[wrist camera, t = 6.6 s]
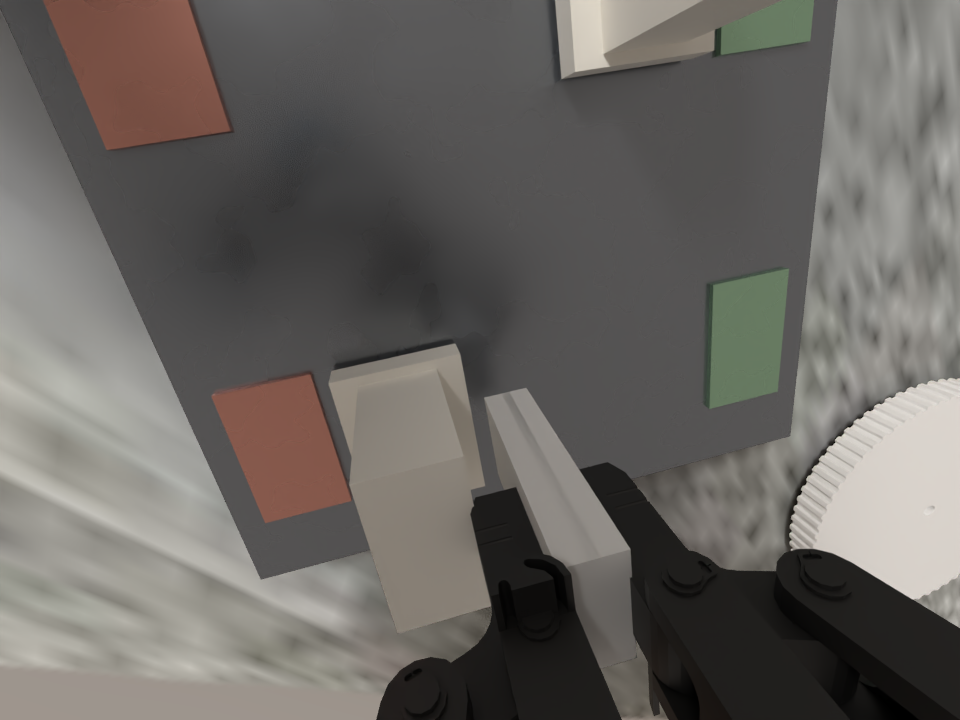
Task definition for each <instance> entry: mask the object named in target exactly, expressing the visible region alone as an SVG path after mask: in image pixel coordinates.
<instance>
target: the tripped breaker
mask: <svg viewBox="0 0 960 720" xmlns="http://www.w3.org/2000/svg"><path fill="white" fill-rule="evenodd" d="M328 384H329V387H330V390H331V393H332V397H333V400H334V403H335V406H336V409H337V412H338V416H339V419H340V422H341V425H342V428H343V432H344V435H345V438H346V441H347V444H348V447H349V451H350V454H351V457H352V460H351V471H350V482H349V486H350V489H351V492H352V495H353V498H354V501H355V504H356V507H357V511H358V514H359V517H360V520H361V523H362V526H363V529H364V532H365V535H366V538H367V541H368V544H369V547H370V551H371V554H372V557H373V560H374V563H375V566H376V569H377V572H378V575H379V578H380V581H381V584H382V587H383V590H384V594H385V597H386V600H387V603H388V606H389V609H390V612H391V615H392V618H393V621H394V624H395V627H396V630H397V634H399V633H402V632H406V631H409V630H413V629H416V628H419V627H423V626H426V625H429V624H433V623H436V622H440V621H443V620H446V619H450V618H453V617H457V616H460V615H463V614H467V613H470V612H474V611H477V610H480V609H484V608H487V607H490V606H491V603H490V598H489V594H488V590H487V586H486V582H485V577H484V573H483V569H482V565H481V561H480V556H479V551H478V547H477V542H476V538H475V533H474V529H473V524H472V520H471V515H470V513H471V510H472V507H473V506H474V504H473V499H472V494H471V490H472V489H476V488H480V487H483V486H485V482H484V477H483V472H482V466H481V461H480V456H479V451H478V445H477V440H476V435H475V429H474V424H473V419H472V414H471V408H470V403H469V398H468V393H467V387H466V382H465V377H464V371H463V366H462V361H461V356H460V352H459V350H458V348H457V346H456V344H450V345H446V346H441V347H437V348H432V349H428V350H423V351H419V352H414V353H410V354H405V355H401V356H396V357H392V358H387V359H383V360H378V361H374V362H369V363H365V364H360V365H356V366H351V367H347V368H342V369H338V370H333V371H331V375H330V379H329V383H328Z"/></svg>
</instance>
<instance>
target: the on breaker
mask: <svg viewBox="0 0 960 720" xmlns="http://www.w3.org/2000/svg"><path fill="white" fill-rule="evenodd" d="M780 1H782V0H555V5H556V17H557V29H558V42H559V54H560V67H561V79H566V78H572V77H578V76H585V75H591V74H598V73H604V72H611V71H617V70H624V69H630V68H637V67H643V66H649V65H656V64H662V63H669V62H675V61H682V60H688V59H693V58H696V57H698V56H701V55H704V54H706V53H709V52H712V51H714V37H715V29H718V28H720V27H722V26H725V25H727V24H729V23H731V22H734V21H736V20H738V19H741V18H743V17H745V16H748V15H750V14H752V13H754V12H757V11H759V10H761V9H764V8H766V7H768V6H770V5H773V4H775V3H777V2H780Z"/></svg>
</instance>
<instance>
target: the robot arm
mask: <svg viewBox="0 0 960 720" xmlns="http://www.w3.org/2000/svg"><path fill="white" fill-rule="evenodd" d="M484 400H485V405H486V411H487V416H488V421H489V427H490V432H491V438H492V443H493V448H494V454H495V459H496V465H497V470H498V475H499V478H500V480H501V483H502V486H503V488H504V490H502V491H498V492H494V493H491V494H487V495H483V496H479V497H475V500H474V503H473V504H474V506H473V507H472V510H471V513H470V515H471V520H472V524H473V529H474V533H475V538H476V542H477V547H478V551H479V556H480V561H481V565H482V569H483V573H484V577H485V582H486V586H487V590H488V594H489V598H490V603H491V607H492V617H491V623H490V625H489V627H488V629H487V632H486V634H485V635H484V636H483V638H482V639H481V640H480V641H479V643H478V644H477V645H475V646H474V647H473V648H472V649H471V650H469V651H468V652H467V653H465V654H464V655H462V656H461V657H459V658H458V659H456V660H455V661H453V662H452V663H450V662H449V661H447V660H445V659H439V658H433V657H430V658H426V659H421V660H417V661H414V662H413V663H411V664H410V665H408V666H406V667H405V668H403V669H402V670H400V671H399V672H398V674H397V675H396V676H395V677H394V678H393V680H392V681H391V682H390V683H389V684H388V686H387V688H386V691H385V693H384V696H383V698H382V700H381V703H380V707H379V711H378V715H377V719H376V720H622V719H621V717H620V715H619V712H618V710H617V707H616V705H615V703H614V700H613V698H612V695H611V693H610V691H609V688H608V686H607V684H606V681H605V679H604V676H603V674H602V672H601V669H602V668H605V667H609V666H612V665H615V664H618V663H622V662H625V661H628V660H631V659H635V658H637V653H636V640H637V642H638V644H639V646H640V648H641V650H642V652H643V653H644V655H645V657H646V659H647V661H648V674H649V696H650V705H651V708H652V711H653V715H654V716H655V715H659V714H660V710H659V702H660V704H661V706H662V708H663V710H664V711H665V713H666V715H667V717H668V719H669V720H960V628H958V627H957V626H955V625H954V624H952V623H950V622H949V621H947V620H945V619H944V618H942V617H940V616H939V615H937V614H935V613H934V612H932V611H931V610H929V609H927V608H926V607H924V606H922V605H921V604H919V603H917V602H916V601H914V600H913V599H911V598H909V597H908V596H906V595H904V594H903V593H901V592H899V591H898V590H896V589H894V588H893V587H891V586H890V585H888V584H886V583H885V582H883V581H881V580H880V579H878V578H876V577H875V576H873V575H871V574H870V573H868V572H867V571H865V570H863V569H862V568H860V567H858V566H857V565H855V564H853V563H852V562H850V561H848V560H846V559H844V558H842V557H839V556H837V555H835V554H833V553H829V552H825V551H821V550H817V549H796V550H793V551H790V552H787V553H784V554H783V556H782V557H781V558H780V559H779V560H778V561H777V568H776V571H736V570H726V569H723V568H720V567H719V566H717V565H716V564H715V563H714V562H713V561H712V560H710V559H709V558H708V557H705V556H703V555H701V554H699V553H697V552H694V551H689V550H688V549H687V548H686V547H685V546H684V545H683V544H682V543H681V541H680V540H679V539H678V538H677V536H676V535H675V534H674V533H673V531H672V530H671V529H670V528H669V526H668V525H667V524H666V522H665V521H664V520H663V519H662V517H661V516H660V515H659V514H658V512H657V511H656V510H655V509H654V507H653V506H652V505H651V504H650V502H647V499H646V497H645V496H644V495H643V494H642V492H641V491H640V490H638V489H637V486H636V485H635V484H634V482H633V481H632V480H631V478H630V477H629V476H628V475H627V473H626V472H624V471H622V470H621V469H619V468H617V467H616V466H614V465H612V464H610V463H609V462H606V463H602V464H598V465H594V466H590V467H586V468H582V469H578V467H577V466H576V464H575V463H574V461H573V459H572V458H571V456H570V455H569V453H568V452H567V450H566V449H565V447H564V445H563V444H562V442H561V441H560V439H559V438H558V436H557V435H556V433H555V432H554V430H553V428H552V427H551V425H550V424H549V422H548V421H547V419H546V418H545V416H544V414H543V413H542V411H541V410H540V408H539V407H538V405H537V404H536V402H535V401H534V399H533V397H532V396H531V394H530V393H529V391H528V390H527V388H523V389H519V390H514V391H510V392H506V393H502V394H498V395H493V396H489V397H485V398H484Z"/></svg>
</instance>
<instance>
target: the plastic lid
mask: <svg viewBox="0 0 960 720" xmlns="http://www.w3.org/2000/svg"><path fill="white" fill-rule="evenodd" d="M819 461H820V462H819V463H818V465H816V466H814V467H813V469H812V471H813V473H812V474H811V475H810V476H808V477H807V479H806V481H807V483H806V485H804V486H802V488H801V491H802V493H801V495H800V496H798V497H797V501H798V504H797V505H795V506H794V509H793V510H794V511H795V514H794V515H792V517H791V520H793V523H792V524H790V529H791V530H792V532H791V533H789V537H790V538H791V539H792V540H791V541H790V542H789V543H790V546H792V547H793V548H792V549H791V551H793V550H796V549H817V550H821V551H825V552H829V553H833V554H835V555H837V556H839V557H842V558H844V559H846V560H848V561H850V562H852V563H853V564H855V565H857V566H858V567H860V568H862V569H863V570H865V571H867V572H868V573H870V574H871V575H873V576H875V577H876V578H878V579H880V580H881V581H883V582H885V583H886V584H888V585H890V586H891V587H893V588H894V589H896V590H898V591H899V592H901V593H903V594H904V595H906V596H908V597H909V598H911V599H919V598H921V597H922V596H923V595H928V594H930V593H931V591H933V590H937V589H939V588H940V586H942V585H943V584H944V585H946V584H948V583H949V581H950V580H951V579H955V578H957V577H958V574H960V378H958V379H957V380H956V379H953V378H949V379H948V380H945V379H939V380H938V382H935V381H929V382H928V383H927V384H926V385H925V384H923V383H921V384H918V385H917V387H916V388H913V387H910V388H907V390H906V392H904V393H903V392H898V393H896V395H895V397H893V398H890V397H889V398H887V399H885V402H884V403H883V404H877V405H875V406H874V409H873V410H872V411H867V412H866V413H864V416H863V417H862V418H861V419H857V420H855V421H854V425H853V426H852V427H850V428H849V427H847V428H846V429H845V430H844V434H843V435H842V436H841V437H840V436H838V437H837V438H836V439H835V443H834V445H833V446H829V447H828V448H827V453H826V454H825V455H824V456H821V457H820V459H819Z"/></svg>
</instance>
